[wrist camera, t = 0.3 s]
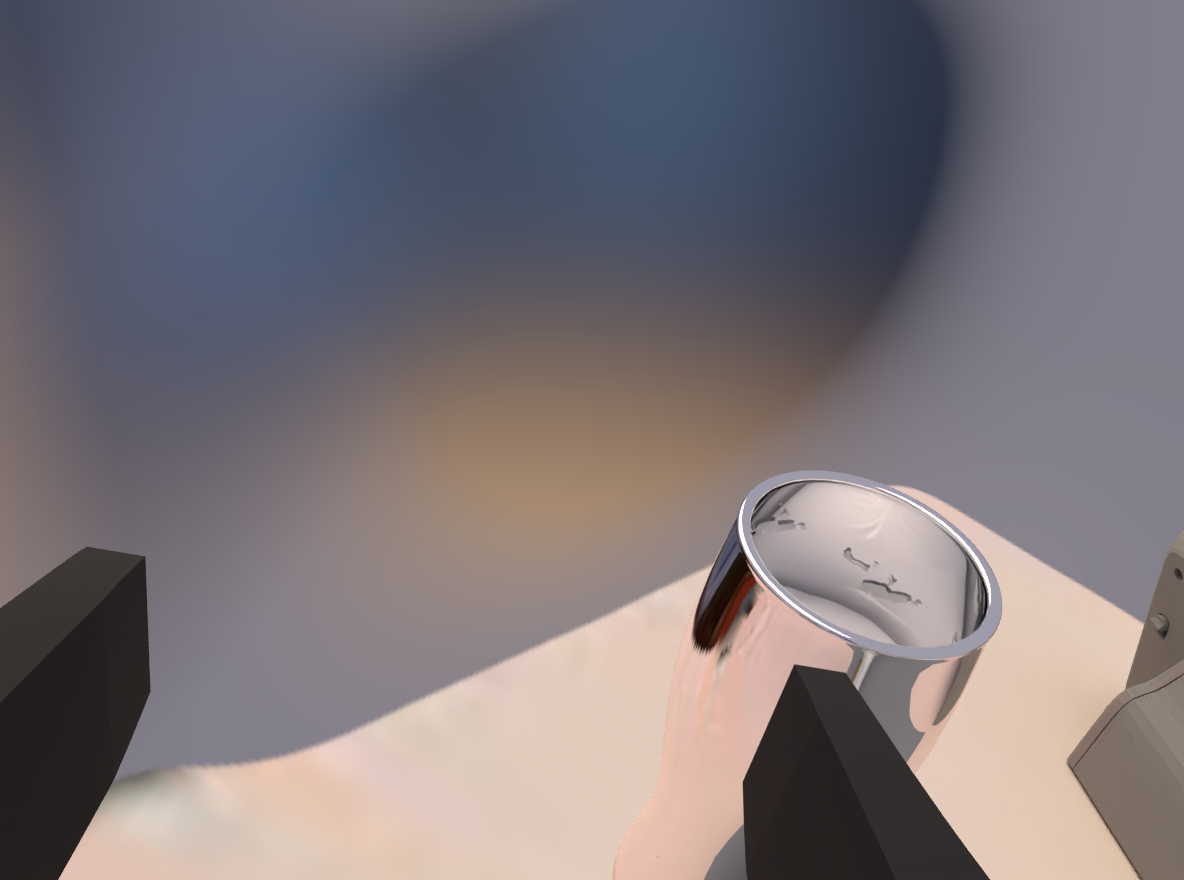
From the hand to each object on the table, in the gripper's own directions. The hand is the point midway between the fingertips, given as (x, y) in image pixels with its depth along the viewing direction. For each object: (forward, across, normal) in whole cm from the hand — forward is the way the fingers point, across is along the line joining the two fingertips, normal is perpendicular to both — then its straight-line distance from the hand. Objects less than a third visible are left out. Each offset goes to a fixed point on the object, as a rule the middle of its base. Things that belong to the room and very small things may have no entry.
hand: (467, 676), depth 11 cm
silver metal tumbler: (+12, -9, +20) cm, 25 cm away
